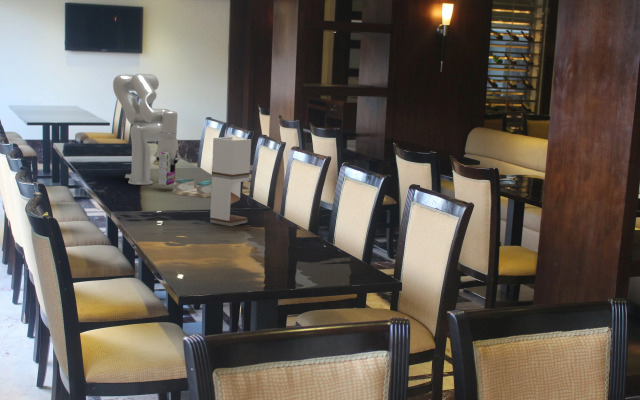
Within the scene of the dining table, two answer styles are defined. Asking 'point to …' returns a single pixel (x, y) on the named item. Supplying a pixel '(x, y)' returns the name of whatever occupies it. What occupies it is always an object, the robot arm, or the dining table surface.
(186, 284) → the dining table surface
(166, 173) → the candy bar box
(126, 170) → the dining table surface
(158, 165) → the ceramic model
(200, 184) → the rail board
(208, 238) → the dining table surface
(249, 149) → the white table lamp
